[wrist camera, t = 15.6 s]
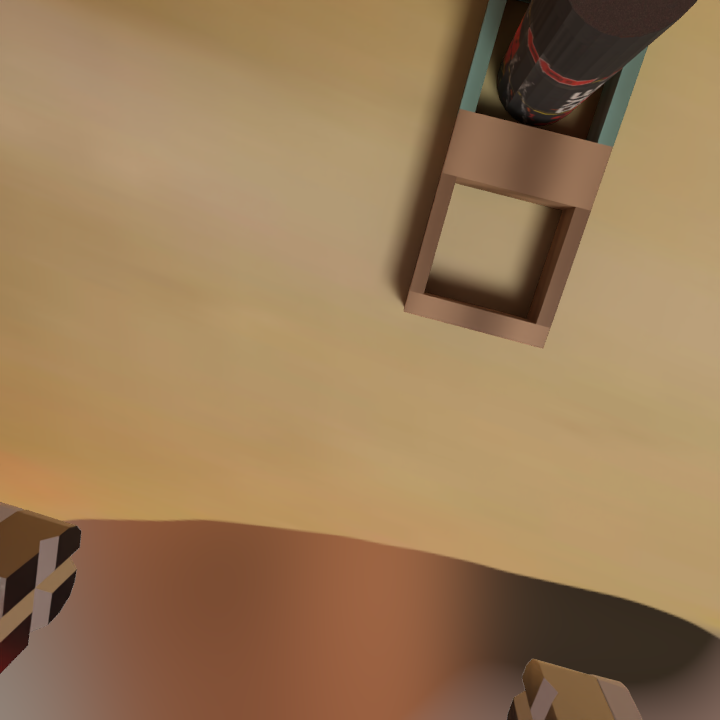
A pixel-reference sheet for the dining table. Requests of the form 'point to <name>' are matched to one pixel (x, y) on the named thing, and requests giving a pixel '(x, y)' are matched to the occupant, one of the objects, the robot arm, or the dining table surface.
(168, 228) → the dining table surface
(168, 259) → the dining table surface
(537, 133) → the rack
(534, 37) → the deodorant
